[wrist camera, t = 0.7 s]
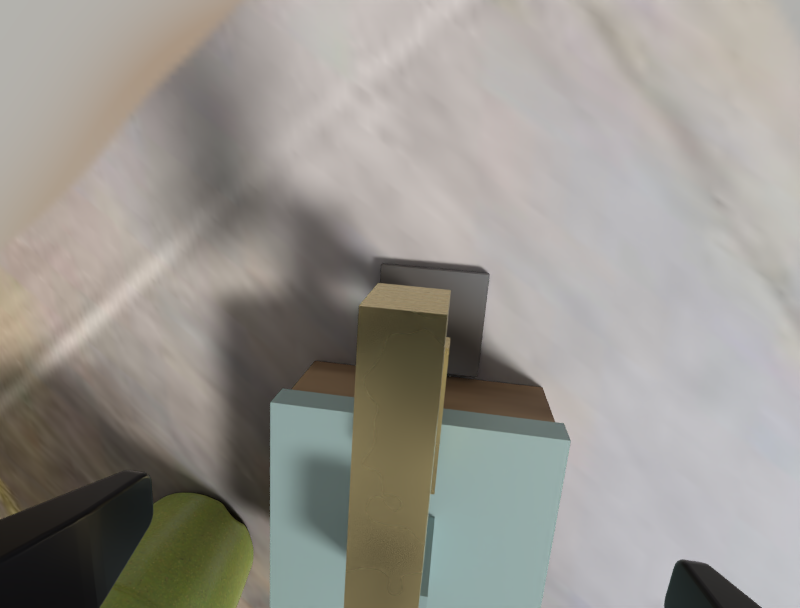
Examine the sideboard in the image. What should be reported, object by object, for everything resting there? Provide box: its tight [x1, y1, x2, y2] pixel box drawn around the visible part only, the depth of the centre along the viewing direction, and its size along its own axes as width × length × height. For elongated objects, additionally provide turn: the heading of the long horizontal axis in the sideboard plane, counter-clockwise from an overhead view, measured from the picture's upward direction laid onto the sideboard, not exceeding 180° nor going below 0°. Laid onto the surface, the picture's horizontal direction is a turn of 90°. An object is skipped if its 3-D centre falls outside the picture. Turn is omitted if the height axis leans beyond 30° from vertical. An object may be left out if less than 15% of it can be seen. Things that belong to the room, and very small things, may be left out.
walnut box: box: [291, 263, 555, 422], centre depth 20 cm, size 15×10×4 cm
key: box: [344, 283, 451, 608], centre depth 15 cm, size 8×2×11 cm, turn 176°
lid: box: [270, 388, 571, 608], centre depth 17 cm, size 10×10×5 cm
